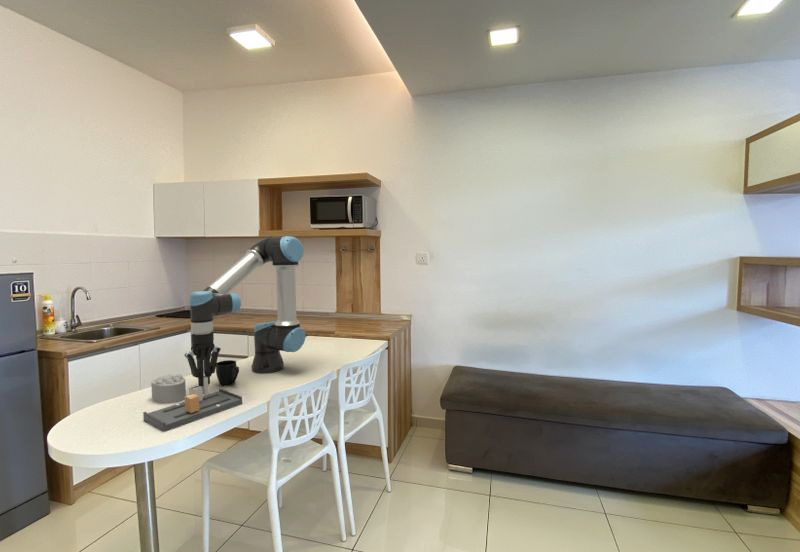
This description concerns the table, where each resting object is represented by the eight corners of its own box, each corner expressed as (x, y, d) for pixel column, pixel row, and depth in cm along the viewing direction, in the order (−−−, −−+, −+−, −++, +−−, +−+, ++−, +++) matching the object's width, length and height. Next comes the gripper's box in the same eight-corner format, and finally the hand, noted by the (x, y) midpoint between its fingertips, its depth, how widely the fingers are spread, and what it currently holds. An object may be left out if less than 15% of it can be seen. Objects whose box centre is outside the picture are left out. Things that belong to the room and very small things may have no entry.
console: (220, 395, 159) (220, 388, 159) (242, 403, 150) (241, 396, 150) (143, 420, 136) (143, 412, 136) (163, 431, 128) (163, 423, 127)
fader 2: (193, 407, 141) (193, 393, 140) (199, 410, 138) (199, 395, 138) (184, 410, 138) (184, 395, 138) (190, 413, 136) (190, 398, 136)
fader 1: (197, 397, 150) (196, 384, 149) (202, 400, 147) (202, 386, 147) (189, 400, 147) (188, 386, 147) (194, 402, 145) (193, 388, 145)
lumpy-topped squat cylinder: (175, 391, 164) (174, 370, 164) (192, 397, 157) (191, 376, 157) (148, 399, 155) (147, 377, 155) (165, 406, 148) (164, 383, 148)
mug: (229, 390, 165) (228, 368, 164) (212, 385, 171) (211, 363, 170) (246, 384, 171) (245, 363, 171) (229, 379, 178) (228, 359, 177)
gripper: (213, 328, 156) (215, 386, 157) (179, 334, 145) (182, 396, 147) (224, 330, 152) (226, 390, 153) (189, 336, 141) (192, 401, 143)
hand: (204, 393), depth 150 cm, fingers closed
